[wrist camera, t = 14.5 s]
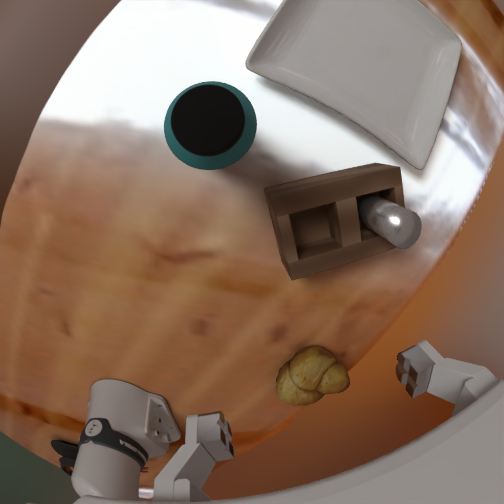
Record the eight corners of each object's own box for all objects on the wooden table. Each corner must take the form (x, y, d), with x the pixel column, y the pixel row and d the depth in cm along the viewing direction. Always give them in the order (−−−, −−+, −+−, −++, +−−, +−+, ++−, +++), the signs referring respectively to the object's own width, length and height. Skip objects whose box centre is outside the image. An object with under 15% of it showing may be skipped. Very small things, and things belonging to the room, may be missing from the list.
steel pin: (377, 217, 35) (421, 243, 26) (351, 224, 35) (392, 253, 26) (374, 188, 34) (421, 207, 24) (347, 194, 34) (390, 215, 24)
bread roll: (291, 395, 49) (300, 427, 41) (254, 376, 46) (260, 411, 38) (343, 355, 46) (359, 385, 39) (310, 330, 43) (325, 363, 36)
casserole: (54, 449, 54) (48, 468, 46) (50, 426, 49) (41, 448, 41) (125, 478, 60) (122, 498, 53) (132, 460, 55) (128, 484, 47)
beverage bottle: (215, 98, 30) (209, 36, 11) (253, 136, 32) (297, 120, 13) (176, 135, 31) (118, 121, 12) (214, 173, 33) (204, 205, 14)
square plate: (450, 45, 28) (464, 41, 24) (407, 170, 36) (423, 174, 32) (316, -48, 22) (324, -60, 18) (239, 74, 29) (241, 65, 26)
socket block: (384, 230, 38) (406, 243, 33) (281, 260, 38) (291, 280, 32) (375, 162, 34) (400, 167, 29) (263, 188, 34) (272, 196, 29)
